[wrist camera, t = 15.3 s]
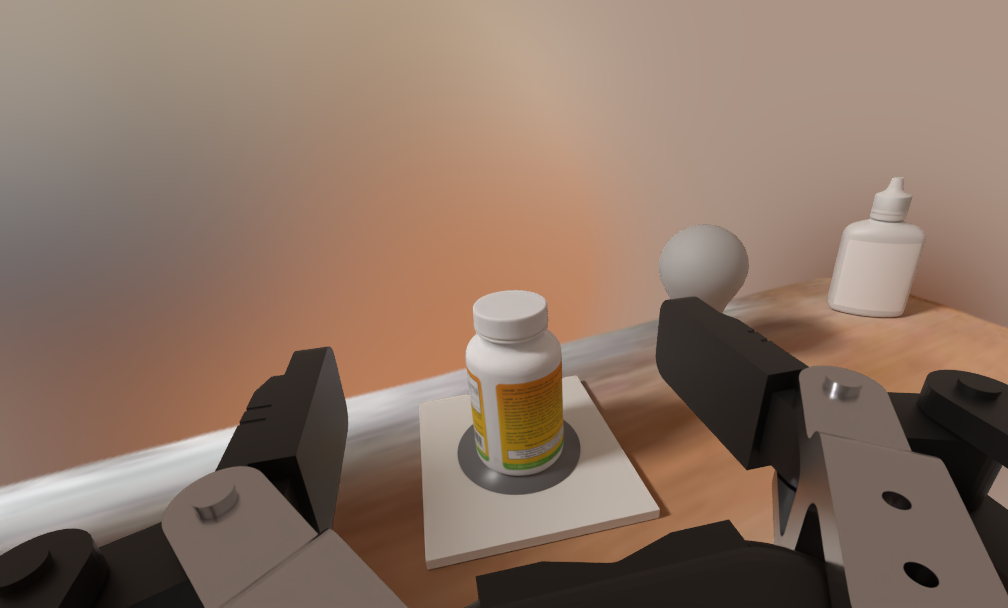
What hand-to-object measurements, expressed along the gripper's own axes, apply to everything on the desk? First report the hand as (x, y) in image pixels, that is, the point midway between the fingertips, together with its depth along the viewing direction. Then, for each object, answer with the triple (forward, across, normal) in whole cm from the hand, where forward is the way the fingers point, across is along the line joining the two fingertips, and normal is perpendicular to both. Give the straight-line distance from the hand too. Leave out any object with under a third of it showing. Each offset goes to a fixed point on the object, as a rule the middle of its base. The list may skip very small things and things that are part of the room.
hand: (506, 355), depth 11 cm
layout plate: (+12, -3, +15) cm, 20 cm away
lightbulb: (+19, -19, +15) cm, 31 cm away
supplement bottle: (+12, -3, +14) cm, 19 cm away
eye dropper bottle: (+22, -38, +15) cm, 46 cm away
